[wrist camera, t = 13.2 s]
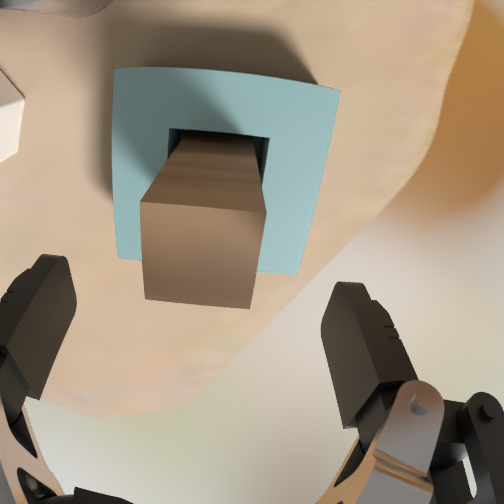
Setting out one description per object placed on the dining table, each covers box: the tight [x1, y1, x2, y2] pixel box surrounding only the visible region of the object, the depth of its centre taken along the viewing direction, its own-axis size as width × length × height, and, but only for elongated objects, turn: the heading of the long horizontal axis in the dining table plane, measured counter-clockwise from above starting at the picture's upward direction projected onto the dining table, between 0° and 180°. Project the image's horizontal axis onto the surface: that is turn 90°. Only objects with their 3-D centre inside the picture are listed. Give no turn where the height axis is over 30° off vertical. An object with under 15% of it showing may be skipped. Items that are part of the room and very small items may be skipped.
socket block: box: [112, 67, 341, 275], centre depth 20 cm, size 12×12×5 cm
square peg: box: [140, 129, 267, 309], centre depth 16 cm, size 4×4×12 cm
